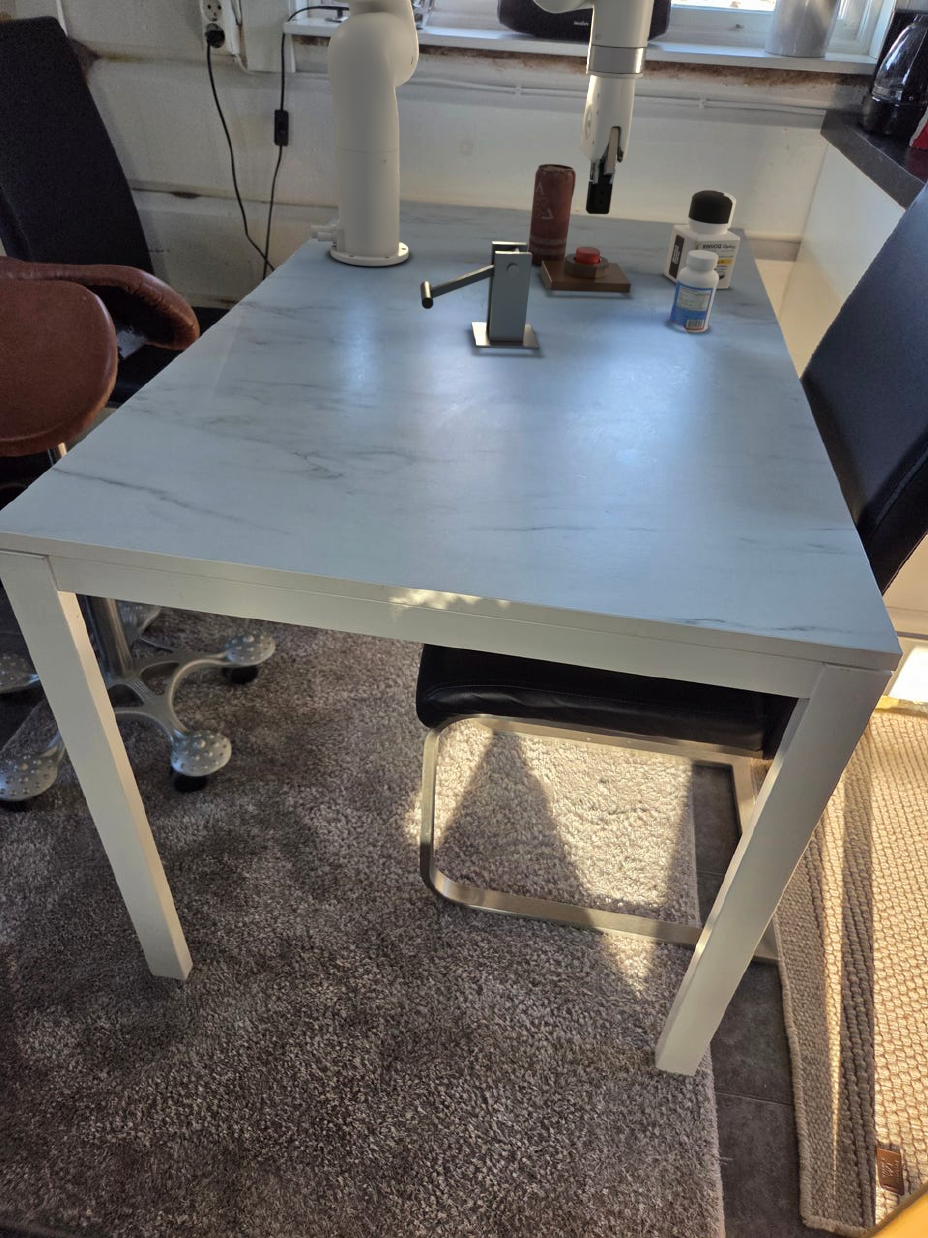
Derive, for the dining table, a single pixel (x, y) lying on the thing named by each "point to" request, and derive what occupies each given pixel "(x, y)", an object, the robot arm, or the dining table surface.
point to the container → (705, 235)
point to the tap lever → (454, 284)
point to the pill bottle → (695, 291)
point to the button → (587, 255)
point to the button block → (584, 276)
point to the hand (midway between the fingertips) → (597, 212)
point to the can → (551, 212)
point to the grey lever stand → (507, 300)
